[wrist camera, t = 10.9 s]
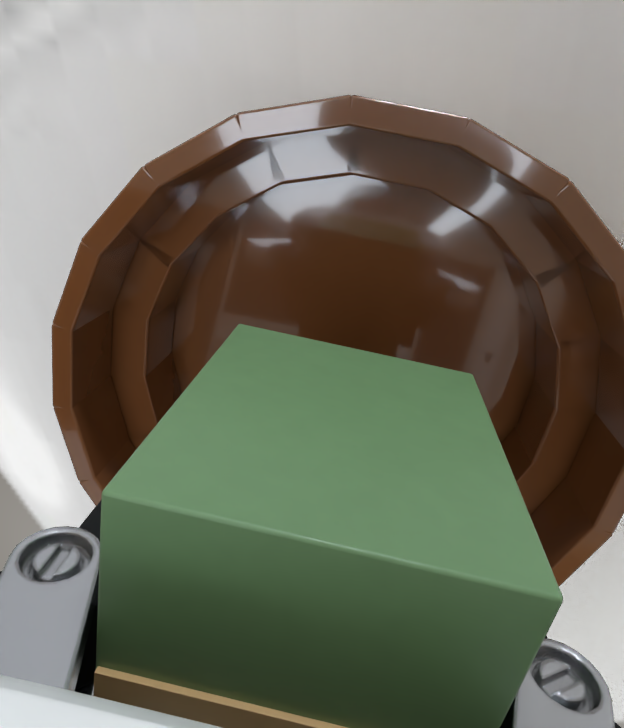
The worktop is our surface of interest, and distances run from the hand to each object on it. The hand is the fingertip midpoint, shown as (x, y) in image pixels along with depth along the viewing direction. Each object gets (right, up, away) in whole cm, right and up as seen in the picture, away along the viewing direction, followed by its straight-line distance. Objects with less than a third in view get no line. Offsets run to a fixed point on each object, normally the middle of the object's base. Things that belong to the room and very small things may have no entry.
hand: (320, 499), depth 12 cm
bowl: (+1, +3, +8) cm, 8 cm away
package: (0, 0, +1) cm, 1 cm away
